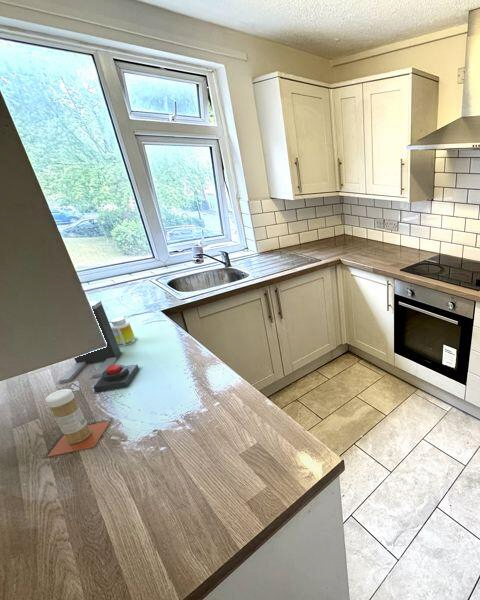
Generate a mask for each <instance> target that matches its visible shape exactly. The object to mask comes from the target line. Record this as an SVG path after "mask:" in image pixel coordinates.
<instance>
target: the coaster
mask: <svg viewBox="0 0 480 600" xmlns="http://www.w3.org/2000/svg"><path fill="white" fill-rule="evenodd" d="M110 423H111V420H109V421H104V422H97V423H92V424H87V425H88V427H89V429H90V430H91V435H90V436H89V437H88V438H86V439H85V440H83V441H81V442H79V443H74V444H70V443H68V442H67V439H66V437H65V435H64V434H63V435H62V436H61V438H60V439H58V441H57V443H56V444H55V446H54V447H53V448H52V449H51V451H50V452H49V453H48V455H47V456H46V457H47V458H49V457H53V456H59V455H63V454H67V453H72V452H78V451H82V450H86V449H87V450H88V449H92V448H95V446H96V445H97V443H98V442H99V440H100V438H101V437H102V436H103V434H104V432H105V431H106V429H107V427H108V426H109V425H110Z"/></svg>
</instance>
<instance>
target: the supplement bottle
mask: <svg viewBox="0 0 480 600" xmlns="http://www.w3.org/2000/svg"><path fill="white" fill-rule="evenodd" d="M110 322H111V324H110V326H111V329H112V331H113V334H114V336H115V339H116V341H117V344H118V346H119V347H124V346H128V345H131V344H133V343H135V342H136V337H135V334H134V332H133V331H134V330H133V329H132V325H131V324H130V322H129V321H128V320H126V318H125V317H124V316H118V317H115V318H112V319H111V320H110Z"/></svg>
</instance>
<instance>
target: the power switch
mask: <svg viewBox="0 0 480 600" xmlns="http://www.w3.org/2000/svg"><path fill="white" fill-rule="evenodd" d="M119 365H120V367H121V371H120V372H118V373H115V374H111V375H109V374H108V372H107V370H105V371H104V372H103V373H102V376H101V377H99V380H98V381H96V383H95V384H94V386H93V390H94V392H95V393H101V392H107V391H113V390H118V389H124V388H128V387H129V385H130V384H131V383H132V381H133V379H134V378H135V376H136V374H137V373H138V371H139V370H140V367H139V364H138V363H135V364H130V365H129V364H128V365H124V364H119Z"/></svg>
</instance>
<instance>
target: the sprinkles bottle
mask: <svg viewBox="0 0 480 600" xmlns="http://www.w3.org/2000/svg"><path fill="white" fill-rule="evenodd" d="M44 401H45V404H46V405H47V407H49V409H50V410H51V412H52V414H53V416H54V418H55V420H56V422H57V425H58V426H59V429H60V430H61V432H62V433H63V435H65V437H66V439H67V442H68V443H70V444H74V443H79V442H81V441H83V440H85V439H86V438H88V437H89V436H90V435H91V430H90V429H89V427H88V425H89V424H88V422H87V420H86V418H85V415H84V413H83V411H82V410H81V407H80V406H79V404H78V402H77V401H76V399H75V394H74V392H73V391H72V389H69V388H64V389H59V390H56V391H54V392H51V393H50V394H49V395H47V396H46V397H45V399H44Z"/></svg>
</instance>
